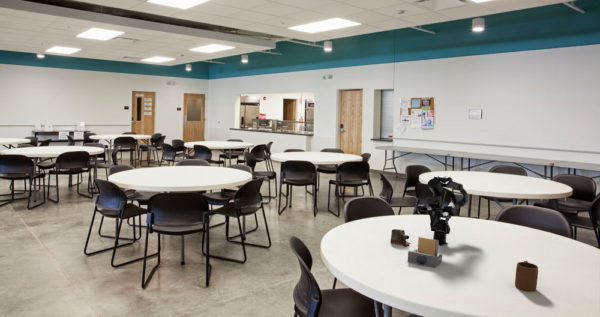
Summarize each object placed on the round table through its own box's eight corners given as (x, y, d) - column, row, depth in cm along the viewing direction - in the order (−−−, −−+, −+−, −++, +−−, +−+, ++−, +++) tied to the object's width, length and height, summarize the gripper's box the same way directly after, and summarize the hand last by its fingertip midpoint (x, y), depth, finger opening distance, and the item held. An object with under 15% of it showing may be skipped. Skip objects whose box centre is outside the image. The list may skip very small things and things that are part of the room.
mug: (513, 278, 171) (515, 257, 170) (533, 282, 168) (536, 260, 167) (515, 289, 160) (517, 266, 159) (537, 293, 157) (539, 270, 156)
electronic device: (405, 247, 208) (406, 232, 207) (389, 242, 215) (390, 228, 214) (410, 245, 211) (411, 231, 210) (394, 241, 218) (395, 227, 217)
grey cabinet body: (414, 255, 196) (415, 245, 196) (441, 260, 190) (442, 250, 189) (406, 262, 186) (407, 251, 186) (435, 268, 180) (436, 257, 179)
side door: (418, 254, 196) (419, 236, 195) (437, 258, 191) (439, 239, 190) (417, 255, 195) (418, 237, 194) (436, 260, 190) (438, 240, 189)
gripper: (415, 189, 210) (408, 216, 204) (450, 190, 198) (444, 219, 191) (423, 200, 217) (417, 226, 210) (458, 201, 204) (452, 229, 198)
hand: (432, 225), depth 202 cm, fingers closed
